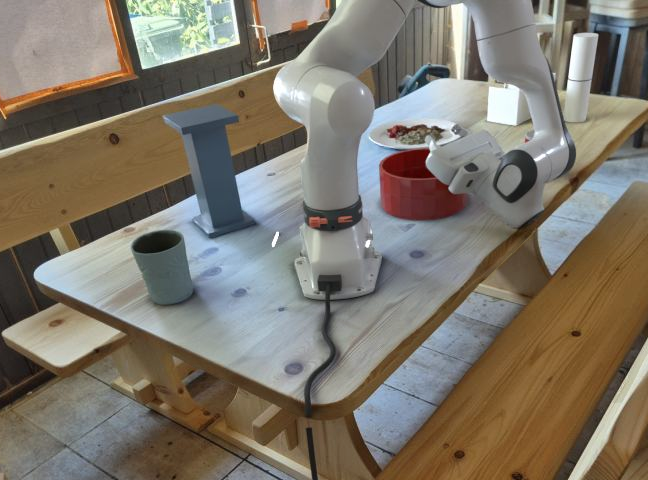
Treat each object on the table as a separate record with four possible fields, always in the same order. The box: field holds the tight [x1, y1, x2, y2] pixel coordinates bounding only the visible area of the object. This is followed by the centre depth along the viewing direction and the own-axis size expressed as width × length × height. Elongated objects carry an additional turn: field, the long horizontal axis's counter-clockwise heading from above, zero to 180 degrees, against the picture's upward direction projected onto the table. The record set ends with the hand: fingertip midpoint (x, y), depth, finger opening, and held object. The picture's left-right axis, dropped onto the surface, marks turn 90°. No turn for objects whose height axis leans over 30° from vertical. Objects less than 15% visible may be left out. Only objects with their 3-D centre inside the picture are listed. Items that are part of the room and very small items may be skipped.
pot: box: [378, 148, 469, 221], centre depth 148 cm, size 22×22×10 cm
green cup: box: [130, 229, 194, 306], centre depth 118 cm, size 10×10×12 cm
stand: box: [162, 103, 256, 239], centre depth 141 cm, size 13×13×26 cm
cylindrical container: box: [563, 32, 599, 123], centre depth 189 cm, size 7×7×25 cm
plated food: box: [368, 117, 462, 151], centre depth 191 cm, size 30×30×3 cm
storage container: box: [486, 72, 557, 127], centre depth 202 cm, size 25×11×11 cm, turn 139°
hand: (441, 131), depth 137 cm, fingers open, 8 cm apart
